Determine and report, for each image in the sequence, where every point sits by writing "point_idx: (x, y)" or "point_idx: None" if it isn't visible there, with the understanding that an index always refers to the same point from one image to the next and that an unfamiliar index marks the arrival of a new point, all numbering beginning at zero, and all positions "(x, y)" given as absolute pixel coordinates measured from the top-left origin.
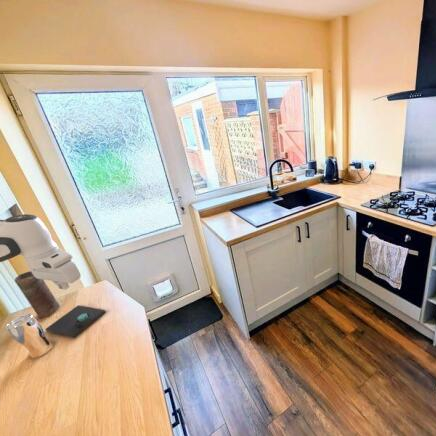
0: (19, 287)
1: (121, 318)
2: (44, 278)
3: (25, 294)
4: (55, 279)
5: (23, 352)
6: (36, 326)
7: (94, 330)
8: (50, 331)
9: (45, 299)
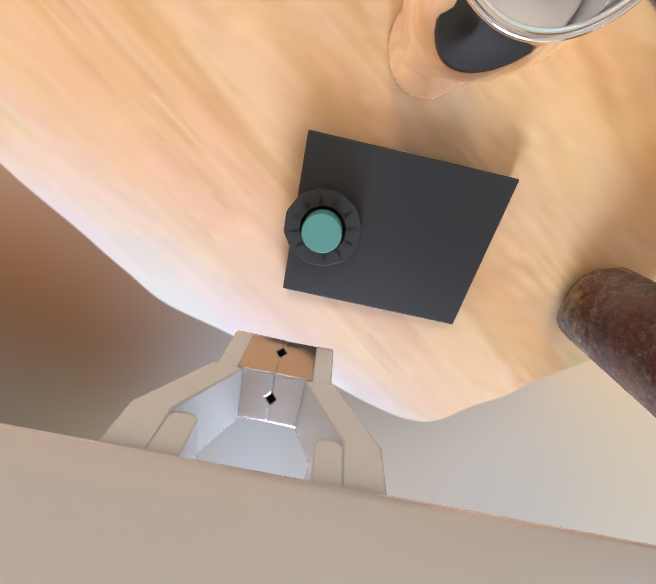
0: None
1: (176, 244)
2: (525, 570)
3: None
4: (41, 509)
5: None
6: None
7: (247, 178)
8: (480, 170)
9: (629, 343)
